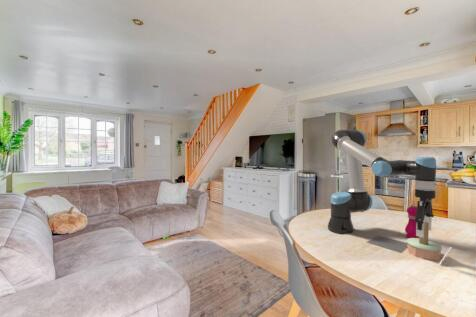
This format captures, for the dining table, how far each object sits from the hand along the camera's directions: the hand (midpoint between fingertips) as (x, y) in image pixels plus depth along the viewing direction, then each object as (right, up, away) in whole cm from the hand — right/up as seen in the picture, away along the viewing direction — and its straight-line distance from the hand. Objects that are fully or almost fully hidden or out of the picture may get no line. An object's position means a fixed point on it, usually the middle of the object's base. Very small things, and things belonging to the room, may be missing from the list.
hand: (423, 233), depth 107 cm
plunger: (0, -6, 0) cm, 6 cm away
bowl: (0, -11, 0) cm, 11 cm away
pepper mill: (+10, -10, +20) cm, 25 cm away
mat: (-8, -10, +13) cm, 19 cm away
